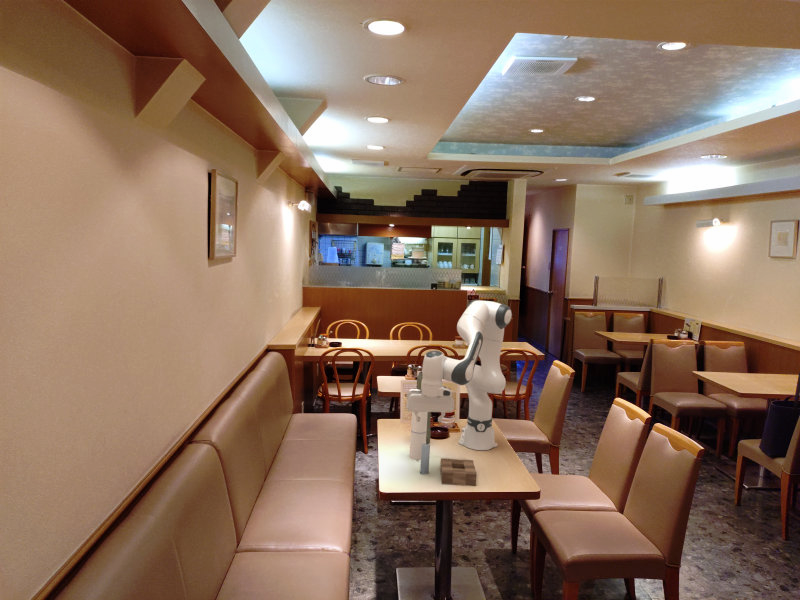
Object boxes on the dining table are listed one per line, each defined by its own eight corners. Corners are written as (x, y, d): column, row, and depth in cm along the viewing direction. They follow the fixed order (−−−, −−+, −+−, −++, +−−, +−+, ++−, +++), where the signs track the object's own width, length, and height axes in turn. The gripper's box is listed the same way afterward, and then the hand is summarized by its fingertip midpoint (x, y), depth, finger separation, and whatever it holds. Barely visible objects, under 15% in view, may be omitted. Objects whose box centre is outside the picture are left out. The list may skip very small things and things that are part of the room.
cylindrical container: (407, 458, 247) (410, 404, 244) (412, 452, 254) (415, 400, 251) (421, 461, 244) (425, 407, 242) (427, 455, 251) (430, 403, 248)
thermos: (411, 445, 262) (415, 374, 258) (412, 436, 274) (416, 368, 270) (430, 446, 262) (434, 376, 258) (430, 437, 274) (434, 370, 270)
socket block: (440, 469, 237) (440, 458, 236) (472, 471, 237) (473, 460, 236) (441, 483, 223) (442, 472, 222) (475, 485, 223) (476, 474, 222)
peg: (420, 470, 235) (421, 443, 234) (428, 470, 235) (430, 444, 233) (420, 473, 231) (421, 446, 230) (428, 474, 231) (430, 447, 230)
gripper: (408, 391, 224) (406, 423, 226) (456, 392, 227) (453, 424, 229) (405, 387, 230) (403, 418, 232) (452, 388, 234) (450, 419, 235)
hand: (428, 421), depth 230 cm, fingers open, 8 cm apart
